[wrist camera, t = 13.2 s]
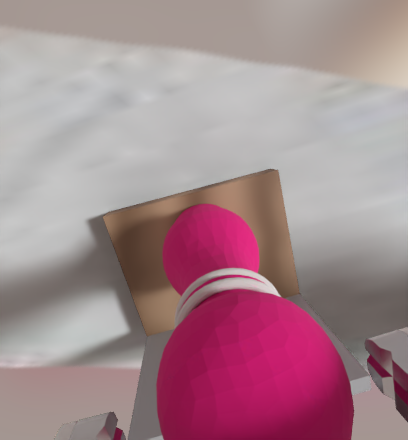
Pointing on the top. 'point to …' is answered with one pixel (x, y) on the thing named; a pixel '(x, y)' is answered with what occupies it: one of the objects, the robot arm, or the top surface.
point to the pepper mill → (242, 345)
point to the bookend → (169, 298)
